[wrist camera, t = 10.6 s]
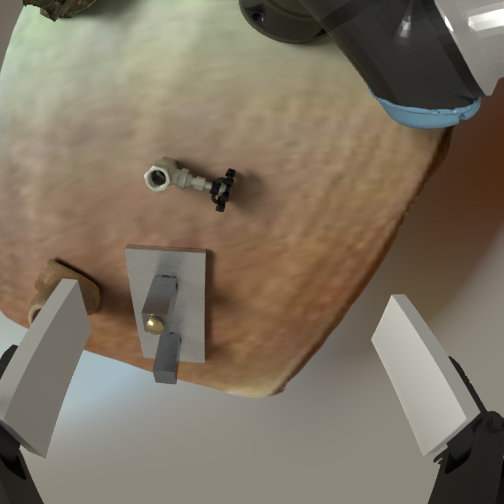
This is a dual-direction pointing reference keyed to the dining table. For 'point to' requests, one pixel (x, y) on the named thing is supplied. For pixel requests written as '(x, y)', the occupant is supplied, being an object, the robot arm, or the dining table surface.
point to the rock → (59, 7)
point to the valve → (187, 180)
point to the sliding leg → (160, 305)
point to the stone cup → (50, 281)
